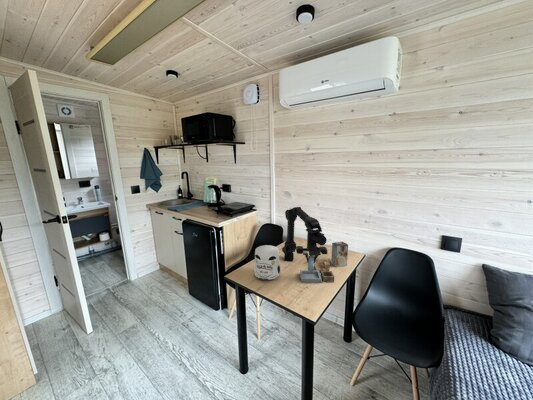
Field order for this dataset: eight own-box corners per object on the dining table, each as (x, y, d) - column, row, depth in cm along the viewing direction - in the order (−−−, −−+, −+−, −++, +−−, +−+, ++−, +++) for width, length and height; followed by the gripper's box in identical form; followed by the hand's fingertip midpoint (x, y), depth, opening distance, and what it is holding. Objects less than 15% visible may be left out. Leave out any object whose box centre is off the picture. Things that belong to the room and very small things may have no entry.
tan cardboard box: (316, 273, 145) (316, 270, 144) (314, 267, 154) (314, 263, 153) (325, 274, 145) (325, 270, 144) (322, 267, 153) (322, 263, 153)
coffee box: (341, 261, 161) (343, 241, 157) (347, 265, 155) (348, 244, 151) (330, 263, 158) (332, 242, 155) (335, 267, 152) (337, 246, 149)
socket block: (322, 281, 135) (322, 276, 134) (320, 275, 142) (320, 270, 141) (334, 282, 134) (334, 277, 134) (331, 276, 141) (331, 271, 141)
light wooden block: (324, 271, 147) (325, 264, 146) (323, 268, 151) (324, 261, 150) (329, 271, 147) (329, 264, 146) (328, 268, 151) (328, 261, 150)
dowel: (308, 271, 136) (308, 258, 134) (307, 268, 140) (307, 255, 138) (314, 271, 136) (314, 258, 134) (313, 268, 140) (313, 255, 138)
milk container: (259, 285, 132) (258, 258, 128) (250, 271, 147) (250, 246, 144) (284, 279, 138) (285, 253, 134) (273, 266, 154) (273, 242, 150)
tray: (301, 282, 134) (301, 278, 134) (299, 273, 145) (300, 270, 144) (321, 283, 134) (321, 279, 133) (318, 274, 144) (318, 270, 143)
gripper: (297, 244, 126) (297, 268, 130) (330, 245, 125) (328, 269, 129) (296, 237, 137) (295, 260, 141) (326, 237, 136) (324, 260, 139)
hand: (310, 262), depth 137 cm, fingers closed on dowel, 4 cm apart
